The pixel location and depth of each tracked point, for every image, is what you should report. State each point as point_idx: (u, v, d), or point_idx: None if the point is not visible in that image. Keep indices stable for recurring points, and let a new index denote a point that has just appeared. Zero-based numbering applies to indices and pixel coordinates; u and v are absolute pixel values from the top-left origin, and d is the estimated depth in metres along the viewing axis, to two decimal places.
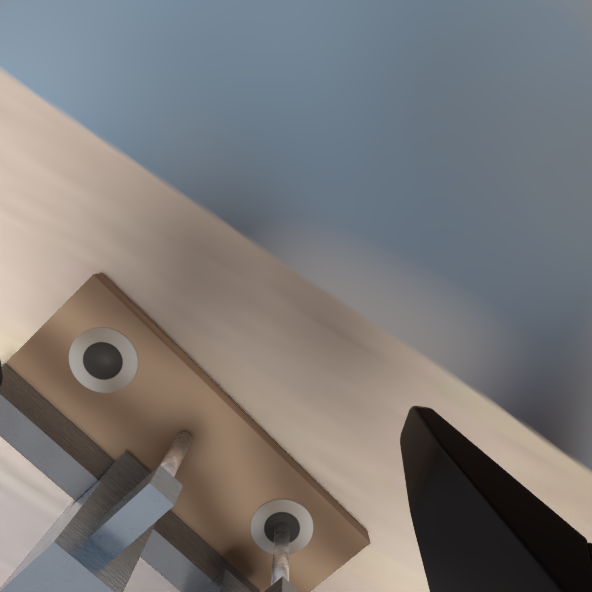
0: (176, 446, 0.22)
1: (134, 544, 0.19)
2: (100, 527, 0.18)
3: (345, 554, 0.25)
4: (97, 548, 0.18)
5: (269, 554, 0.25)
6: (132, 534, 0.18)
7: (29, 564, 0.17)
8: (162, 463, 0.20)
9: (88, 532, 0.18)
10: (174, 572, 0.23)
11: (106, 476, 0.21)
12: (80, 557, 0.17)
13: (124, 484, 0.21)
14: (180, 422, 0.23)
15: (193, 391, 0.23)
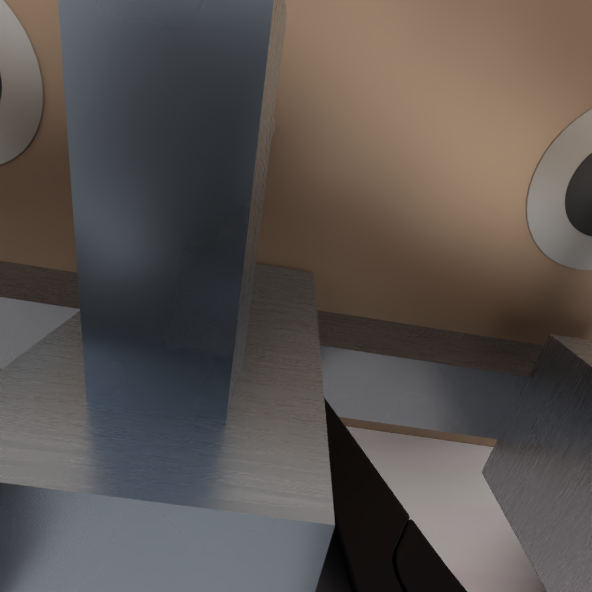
0: None
1: (284, 363, 0.06)
2: (87, 336, 0.04)
3: None
4: (139, 412, 0.04)
5: None
6: (212, 280, 0.04)
7: None
8: None
9: (83, 385, 0.04)
10: (431, 407, 0.09)
11: None
12: (56, 465, 0.03)
13: None
14: None
15: None
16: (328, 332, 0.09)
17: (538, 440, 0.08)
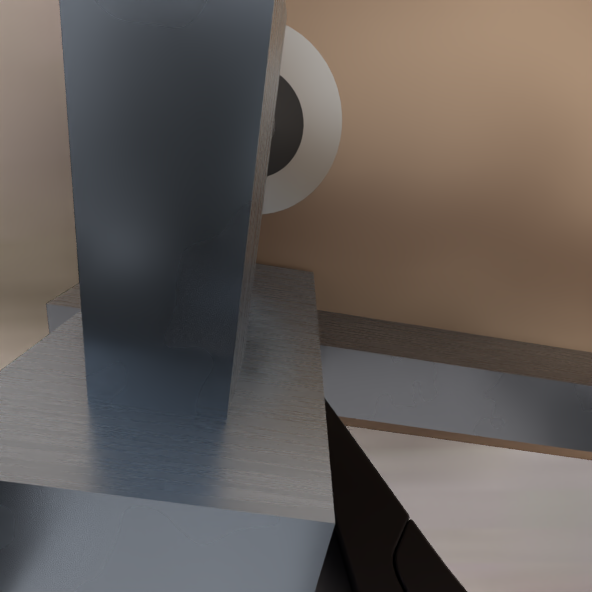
0: None
1: (285, 363, 0.06)
2: (88, 336, 0.04)
3: None
4: (140, 411, 0.04)
5: None
6: (213, 280, 0.04)
7: None
8: None
9: (84, 384, 0.04)
10: None
11: None
12: (57, 464, 0.03)
13: None
14: (507, 148, 0.09)
15: (506, 38, 0.08)
16: (587, 371, 0.10)
17: None
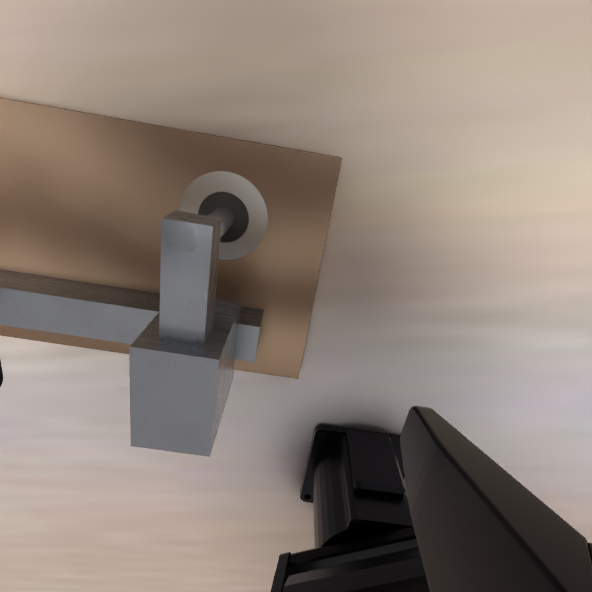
0: None
1: None
2: None
3: (323, 197, 0.17)
4: None
5: (238, 261, 0.18)
6: None
7: None
8: None
9: None
10: (133, 331, 0.18)
11: None
12: None
13: None
14: (11, 171, 0.17)
15: None
16: (79, 292, 0.18)
17: None
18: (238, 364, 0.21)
